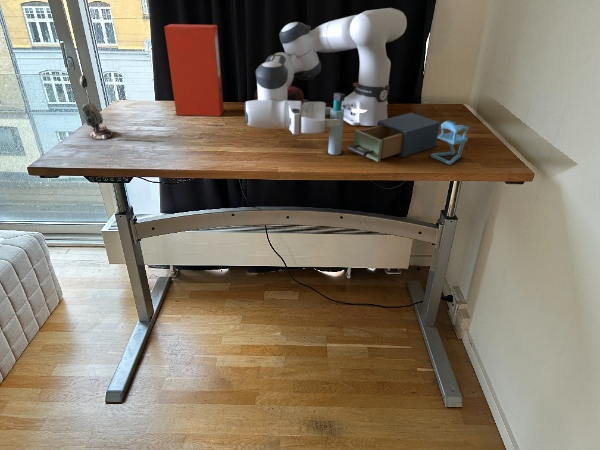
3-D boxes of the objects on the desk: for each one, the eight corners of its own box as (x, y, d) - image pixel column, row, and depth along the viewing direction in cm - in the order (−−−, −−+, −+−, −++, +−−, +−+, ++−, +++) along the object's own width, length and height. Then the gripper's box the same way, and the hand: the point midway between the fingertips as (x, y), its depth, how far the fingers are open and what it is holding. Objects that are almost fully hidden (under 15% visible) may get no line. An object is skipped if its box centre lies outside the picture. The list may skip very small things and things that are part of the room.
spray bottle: (325, 151, 141) (328, 92, 131) (335, 148, 143) (339, 90, 133) (333, 155, 138) (337, 96, 128) (343, 153, 140) (348, 94, 130)
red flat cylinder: (313, 111, 177) (281, 100, 189) (314, 90, 173) (280, 80, 185) (277, 121, 165) (244, 109, 177) (277, 99, 161) (243, 88, 173)
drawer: (367, 165, 130) (369, 144, 127) (342, 153, 138) (344, 133, 134) (411, 151, 140) (414, 131, 137) (386, 140, 148) (388, 121, 144)
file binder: (181, 109, 177) (170, 23, 160) (223, 110, 177) (217, 24, 160) (176, 115, 170) (164, 26, 153) (220, 116, 170) (212, 27, 153)
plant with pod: (81, 142, 145) (64, 81, 134) (95, 130, 154) (81, 72, 144) (105, 142, 145) (90, 81, 134) (118, 131, 154) (105, 73, 144)
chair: (466, 159, 137) (475, 122, 131) (449, 165, 133) (457, 127, 127) (447, 151, 143) (455, 115, 136) (430, 156, 139) (437, 120, 132)
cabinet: (402, 157, 138) (406, 132, 133) (374, 145, 146) (377, 121, 142) (435, 146, 146) (440, 122, 142) (407, 135, 155) (411, 112, 150)
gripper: (297, 114, 145) (338, 116, 145) (293, 136, 128) (339, 138, 127) (297, 96, 142) (340, 97, 141) (293, 115, 125) (341, 117, 124)
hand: (340, 117), depth 134 cm, fingers open, 8 cm apart
